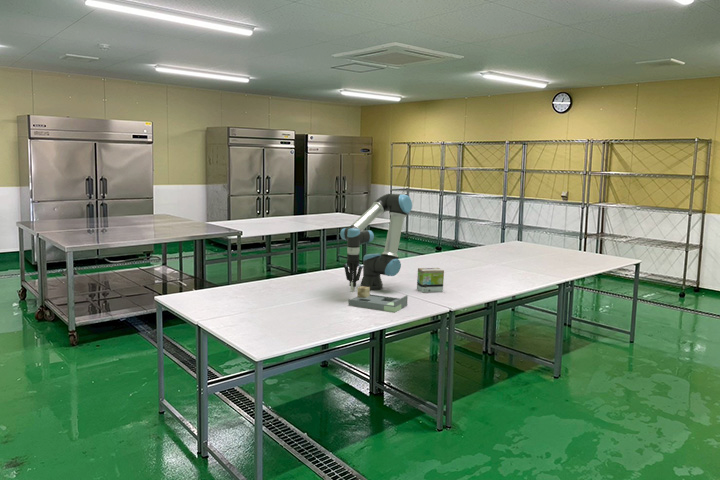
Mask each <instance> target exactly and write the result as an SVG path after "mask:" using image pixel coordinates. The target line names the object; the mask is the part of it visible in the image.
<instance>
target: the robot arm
mask: <svg viewBox="0 0 720 480" xmlns="http://www.w3.org/2000/svg"><path fill="white" fill-rule="evenodd" d="M412 208H413V201H412V199H411V197H410V196H409V195H407V194H403V193H402V194H398V193H386V194H383V195H382V196H380V197H379V198H377V199H376V200H375V201H374V202H372V204H371V206H370V207H369V208H368V209H367V210H366V211H365V212H364V213H362V214H361V215H360V216H359V217H358V218H357V219H356V220H355V221H353V223H352V224H351V225H350V226H348V227H345V228H342V229H341V230H340V233H339V234H340V238H341V240H345V241H347V244H346V245H347V246H346V247H347V249H346V250H347V251H346V253H347V254H346V260H347V261H346V263H344V264H342V266H343V268H344V273H345V277H346V280H347V281H348V282H349V287H350V293H354V292H356V286H357V282H358V281H359V280H360V278H361V274H362V279H361V282H360V285H359V287H361V286H365V287H370V291H376V290H381V289H383V288H384V286H383V285H384V284H383V281H382V277H381V275H382V276H387V277H395V276H396V275H397V274H398V273H400V270H401V266H402V264H401V261H400V259H399V255H398V249H399V245H400V240H401V235H402V230H403V224H404V220H405V218H406V217H407V216H408V214H409V213H410V212H411V211H412ZM385 212H389V215H390V219H389V225H388V230H387V234H386V240H385V245H384V251H383V252H381V253H368V254H366V253H365V255H364V256H363V258H362V259H363V262H362V264H361V263H360V252H361V251H360V249H361V248H360V247H361V246H360V245H361V244H364V243H371V242H372V241H373V240H374V237H375V235H374V232H373V231H372V230H370V229H369V230H367V229H366V228H367V227H368V226H369V225H370V224H372V222H374V220H376V218H377V217H379V216H380V215H382V214H384V213H385ZM362 269H363V270H362ZM362 272H363V273H362Z"/></svg>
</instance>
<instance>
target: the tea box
mask: <svg viewBox="0 0 720 480" xmlns="http://www.w3.org/2000/svg"><path fill="white" fill-rule="evenodd" d="M416 277H417V279H416V290H417V291H419V292H420V293H433V292H434V293H436V292H437V293H440V292H441V293H442V292H444V280H445V279H444V277H445V270H444V269H442V268H439V267H418V268H417V276H416Z"/></svg>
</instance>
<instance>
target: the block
mask: <svg viewBox="0 0 720 480" xmlns="http://www.w3.org/2000/svg"><path fill="white" fill-rule="evenodd" d="M370 291H371V290H370V287H365V286H361V287H360V286H358V287H357V296H356V297H363V298H366V297H368V296H370V294H371V292H370Z"/></svg>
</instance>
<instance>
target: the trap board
mask: <svg viewBox="0 0 720 480" xmlns="http://www.w3.org/2000/svg"><path fill="white" fill-rule="evenodd" d="M408 297H409V296H408V295H405V296H402V297H400V298H399V297H391V296H386V295H385V296H384V295H379V294H378V295H377V294H371V293H370V296H368V297H366V298H363V297H357V296H355V297H353V298H350V299H349V298H348V306H350V307H351V306H352V307H356V308H358V307H359V308H364V309H371V310H379V311H383V312H384V311H385V312H390V313H397V312H398V311H400V310H402V309H404V308H405V307H407V306H408Z"/></svg>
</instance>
